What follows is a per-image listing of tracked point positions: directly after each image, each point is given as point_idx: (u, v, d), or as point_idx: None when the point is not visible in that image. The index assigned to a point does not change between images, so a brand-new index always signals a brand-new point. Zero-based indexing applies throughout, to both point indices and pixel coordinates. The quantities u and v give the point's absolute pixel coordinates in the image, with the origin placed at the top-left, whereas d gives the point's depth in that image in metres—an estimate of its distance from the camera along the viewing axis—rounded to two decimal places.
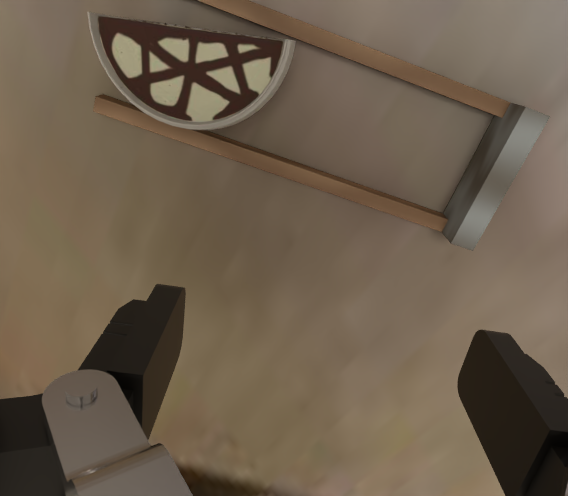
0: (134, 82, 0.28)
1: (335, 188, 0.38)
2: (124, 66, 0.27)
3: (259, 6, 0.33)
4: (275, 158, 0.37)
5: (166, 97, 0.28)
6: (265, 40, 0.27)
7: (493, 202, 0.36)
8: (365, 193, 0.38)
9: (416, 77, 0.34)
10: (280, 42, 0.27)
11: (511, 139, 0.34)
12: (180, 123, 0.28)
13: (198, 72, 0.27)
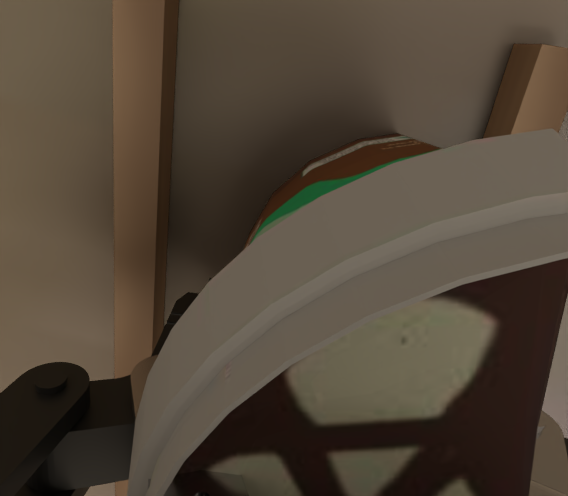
0: (269, 396, 0.06)
1: None
2: (337, 355, 0.05)
3: None
4: None
5: None
6: None
7: None
8: None
9: None
10: None
11: None
12: None
13: None
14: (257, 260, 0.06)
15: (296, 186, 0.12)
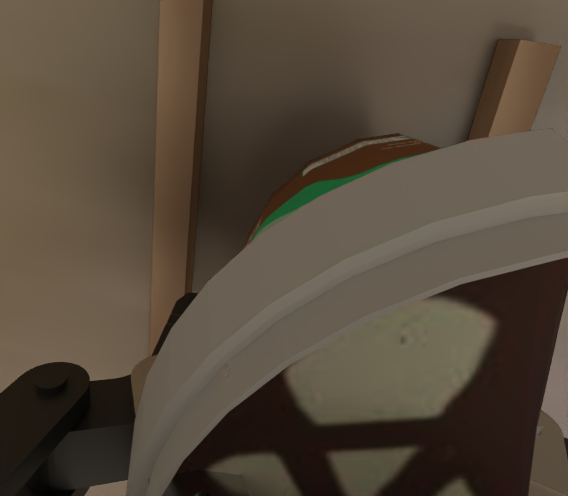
0: (268, 395, 0.06)
1: None
2: (336, 355, 0.05)
3: None
4: None
5: None
6: None
7: None
8: None
9: None
10: None
11: None
12: None
13: None
14: (256, 260, 0.06)
15: (296, 186, 0.12)
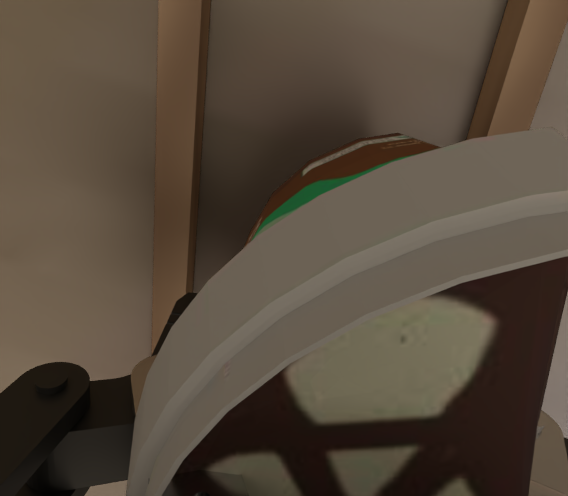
0: (268, 394, 0.06)
1: None
2: (336, 354, 0.05)
3: (536, 96, 0.14)
4: (192, 195, 0.15)
5: None
6: None
7: None
8: None
9: None
10: None
11: None
12: None
13: None
14: (256, 259, 0.06)
15: (296, 185, 0.12)
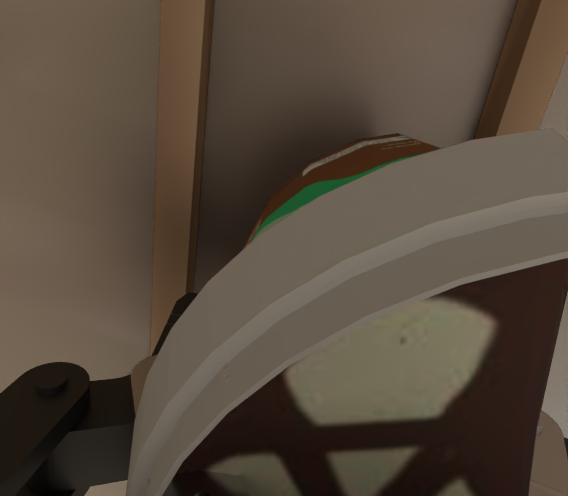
0: (268, 396, 0.06)
1: (173, 150, 0.14)
2: (336, 355, 0.05)
3: None
4: None
5: None
6: None
7: None
8: (183, 226, 0.15)
9: None
10: None
11: None
12: None
13: None
14: (256, 260, 0.06)
15: (296, 186, 0.12)
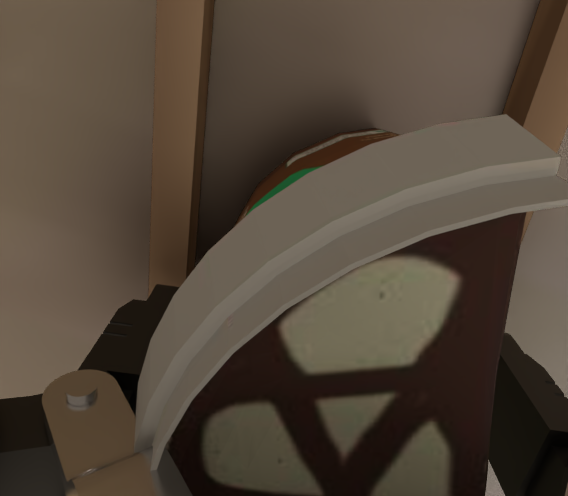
0: (265, 348, 0.06)
1: (170, 156, 0.13)
2: (324, 309, 0.06)
3: None
4: None
5: (233, 452, 0.07)
6: None
7: None
8: (181, 236, 0.14)
9: None
10: None
11: None
12: None
13: None
14: (254, 228, 0.06)
15: (281, 175, 0.12)
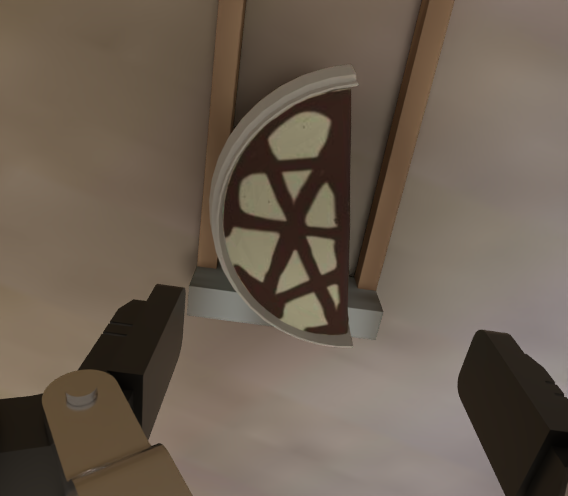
0: (263, 148, 0.18)
1: (220, 100, 0.24)
2: (283, 132, 0.17)
3: None
4: None
5: (250, 197, 0.18)
6: (346, 314, 0.21)
7: (259, 317, 0.27)
8: None
9: (394, 173, 0.26)
10: (346, 331, 0.21)
11: None
12: (218, 231, 0.18)
13: (293, 239, 0.19)
14: (259, 105, 0.18)
15: None
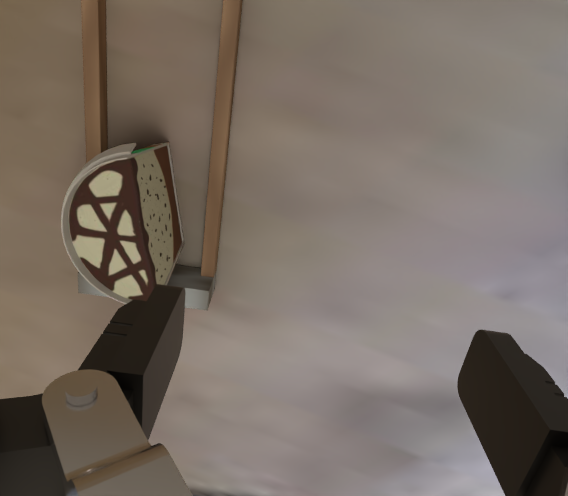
0: (86, 190, 0.31)
1: (92, 152, 0.37)
2: (97, 181, 0.31)
3: (235, 37, 0.34)
4: (100, 81, 0.35)
5: (84, 218, 0.32)
6: (153, 288, 0.34)
7: None
8: None
9: (212, 198, 0.39)
10: None
11: None
12: (64, 237, 0.31)
13: (113, 242, 0.32)
14: (85, 165, 0.31)
15: None
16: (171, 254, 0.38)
